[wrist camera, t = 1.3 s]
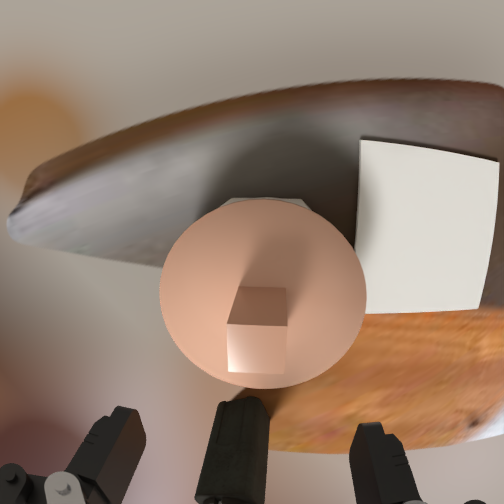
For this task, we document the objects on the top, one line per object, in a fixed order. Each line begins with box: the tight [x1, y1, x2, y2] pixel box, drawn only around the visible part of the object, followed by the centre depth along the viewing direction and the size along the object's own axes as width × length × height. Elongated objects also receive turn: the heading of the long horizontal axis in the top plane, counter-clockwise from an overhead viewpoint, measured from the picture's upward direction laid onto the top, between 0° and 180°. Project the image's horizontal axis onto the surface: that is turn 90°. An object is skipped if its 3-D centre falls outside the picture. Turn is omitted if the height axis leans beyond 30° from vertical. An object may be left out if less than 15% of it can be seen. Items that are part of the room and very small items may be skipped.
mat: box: [354, 140, 499, 314], centre depth 24 cm, size 15×15×1 cm
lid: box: [159, 199, 367, 389], centre depth 18 cm, size 14×14×6 cm
